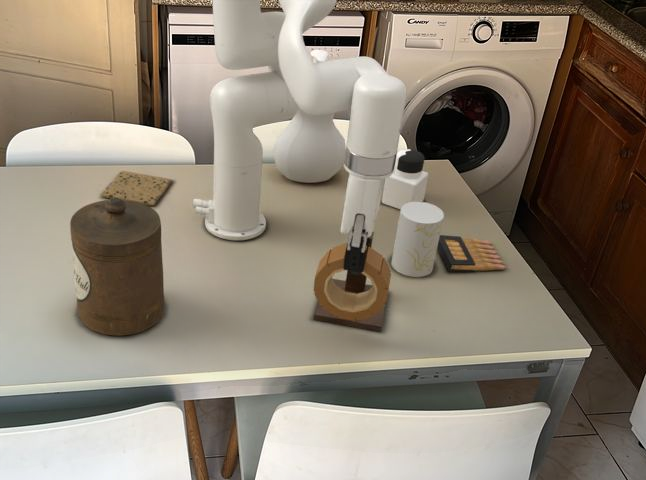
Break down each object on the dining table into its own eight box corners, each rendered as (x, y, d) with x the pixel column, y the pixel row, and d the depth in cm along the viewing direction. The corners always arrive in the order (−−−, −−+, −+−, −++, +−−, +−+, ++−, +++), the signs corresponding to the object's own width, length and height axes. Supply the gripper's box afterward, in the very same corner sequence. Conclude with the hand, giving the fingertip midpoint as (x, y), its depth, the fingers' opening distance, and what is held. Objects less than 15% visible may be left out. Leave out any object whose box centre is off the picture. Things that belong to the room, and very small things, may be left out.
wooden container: (88, 282, 148) (79, 175, 136) (169, 288, 148) (168, 181, 136) (68, 333, 136) (56, 220, 124) (157, 339, 136) (154, 227, 124)
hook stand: (312, 323, 143) (319, 261, 135) (323, 282, 153) (331, 223, 146) (380, 335, 141) (391, 273, 134) (387, 293, 152) (397, 233, 144)
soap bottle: (275, 188, 182) (284, 61, 165) (268, 165, 191) (276, 42, 175) (348, 188, 185) (364, 62, 168) (337, 164, 194) (352, 43, 177)
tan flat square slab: (173, 181, 182) (173, 177, 181) (154, 206, 172) (154, 202, 171) (122, 172, 184) (122, 168, 183) (101, 197, 174) (100, 193, 173)
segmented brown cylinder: (310, 313, 136) (317, 253, 129) (315, 297, 140) (322, 238, 133) (382, 325, 135) (392, 265, 128) (384, 309, 138) (395, 249, 132)
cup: (407, 280, 156) (418, 227, 149) (383, 259, 161) (392, 206, 154) (441, 271, 159) (452, 218, 152) (416, 250, 165) (426, 198, 158)
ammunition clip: (448, 271, 159) (507, 273, 160) (451, 263, 158) (509, 266, 159) (434, 242, 167) (489, 244, 169) (436, 234, 166) (492, 237, 168)
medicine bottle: (423, 201, 182) (433, 152, 175) (410, 213, 177) (419, 164, 170) (395, 191, 185) (403, 143, 178) (381, 203, 180) (388, 154, 173)
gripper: (352, 132, 128) (339, 231, 139) (337, 181, 115) (324, 286, 125) (399, 139, 127) (383, 238, 138) (390, 189, 114) (373, 294, 124)
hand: (355, 259), depth 131 cm, fingers closed on segmented brown cylinder, 4 cm apart
